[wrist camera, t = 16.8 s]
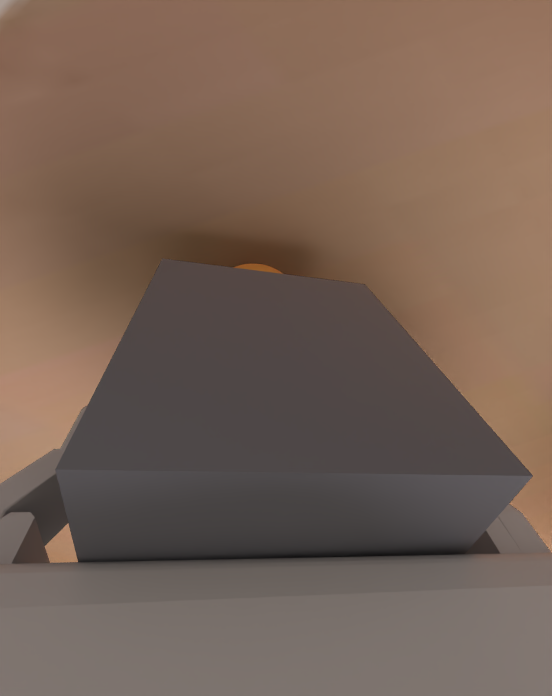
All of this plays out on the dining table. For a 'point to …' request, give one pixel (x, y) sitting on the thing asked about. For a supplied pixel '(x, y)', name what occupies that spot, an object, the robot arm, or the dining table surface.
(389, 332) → the gray rectangular box
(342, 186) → the dining table surface
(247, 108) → the dining table surface
